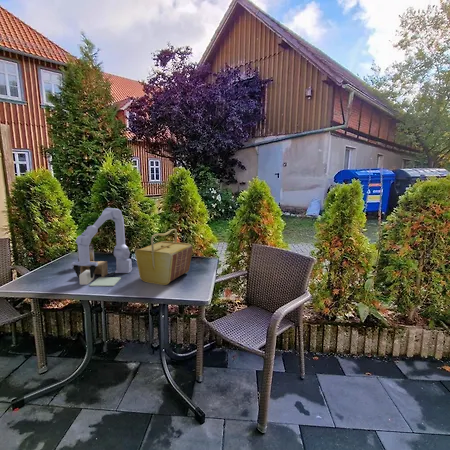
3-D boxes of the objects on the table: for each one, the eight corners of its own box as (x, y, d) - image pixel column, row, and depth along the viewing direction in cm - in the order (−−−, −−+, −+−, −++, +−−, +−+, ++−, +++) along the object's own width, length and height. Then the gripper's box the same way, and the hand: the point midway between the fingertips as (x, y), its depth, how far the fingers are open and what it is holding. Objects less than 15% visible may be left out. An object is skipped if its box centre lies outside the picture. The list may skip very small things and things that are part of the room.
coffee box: (86, 269, 202) (85, 246, 200) (78, 268, 203) (76, 245, 201) (94, 265, 211) (93, 243, 209) (87, 264, 212) (85, 243, 210)
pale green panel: (121, 278, 185) (121, 277, 184) (113, 286, 171) (113, 285, 171) (98, 278, 184) (98, 277, 184) (89, 286, 170) (89, 285, 170)
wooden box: (107, 273, 193) (107, 261, 192) (103, 277, 185) (102, 264, 184) (86, 273, 193) (85, 261, 191) (80, 277, 185) (79, 264, 183)
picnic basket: (171, 288, 170) (170, 237, 165) (134, 282, 178) (132, 233, 174) (193, 273, 197) (193, 229, 192) (160, 268, 205) (159, 226, 201)
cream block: (94, 279, 183) (93, 269, 182) (87, 284, 173) (86, 274, 172) (87, 279, 183) (86, 269, 182) (79, 284, 173) (79, 274, 172)
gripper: (68, 257, 169) (70, 279, 171) (93, 257, 170) (95, 279, 172) (74, 254, 176) (75, 275, 178) (98, 254, 177) (99, 275, 179)
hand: (85, 277), depth 176 cm, fingers open, 7 cm apart
